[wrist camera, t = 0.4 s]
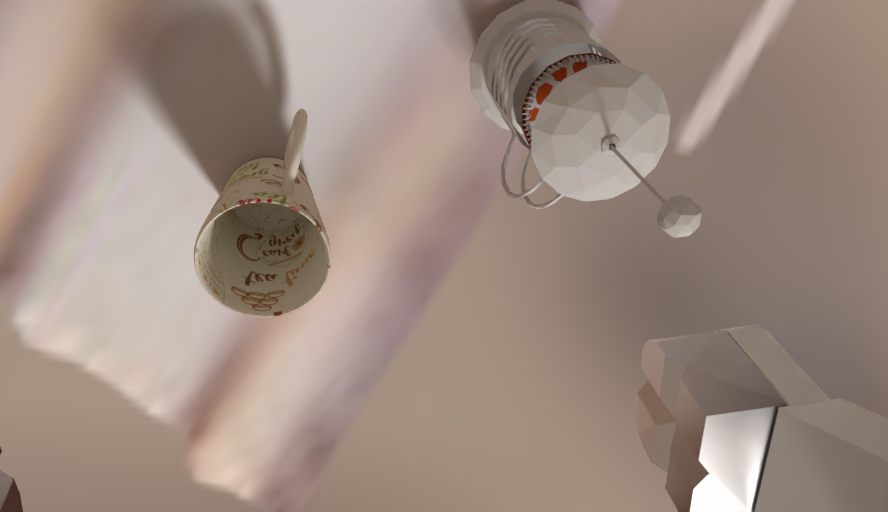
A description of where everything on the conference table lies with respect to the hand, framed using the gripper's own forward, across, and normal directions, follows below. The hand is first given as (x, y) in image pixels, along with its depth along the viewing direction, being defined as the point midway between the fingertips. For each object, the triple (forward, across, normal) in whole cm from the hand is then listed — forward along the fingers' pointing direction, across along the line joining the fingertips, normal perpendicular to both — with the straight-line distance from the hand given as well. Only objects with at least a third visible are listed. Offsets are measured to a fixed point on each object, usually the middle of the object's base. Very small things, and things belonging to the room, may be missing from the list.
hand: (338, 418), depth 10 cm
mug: (+46, +4, +15) cm, 48 cm away
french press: (+46, -15, +10) cm, 49 cm away
